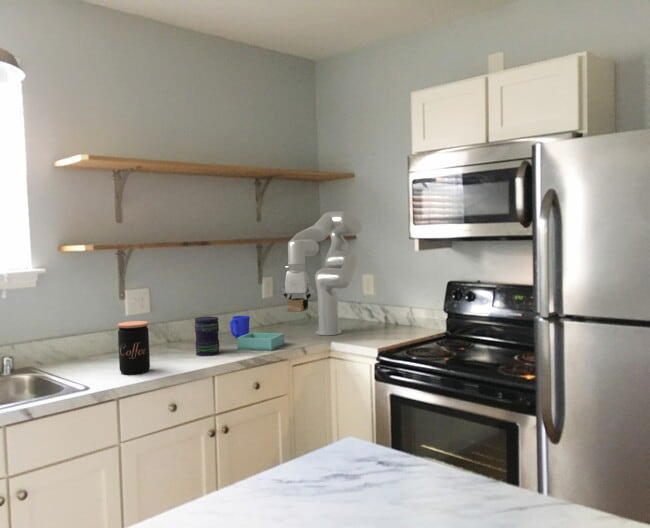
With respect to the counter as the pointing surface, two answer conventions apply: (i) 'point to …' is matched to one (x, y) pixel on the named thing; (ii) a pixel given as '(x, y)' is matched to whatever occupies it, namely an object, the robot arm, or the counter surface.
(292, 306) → the walnut crate
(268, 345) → the teal crate
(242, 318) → the mug
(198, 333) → the storage jar
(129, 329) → the coffee jar
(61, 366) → the counter surface
